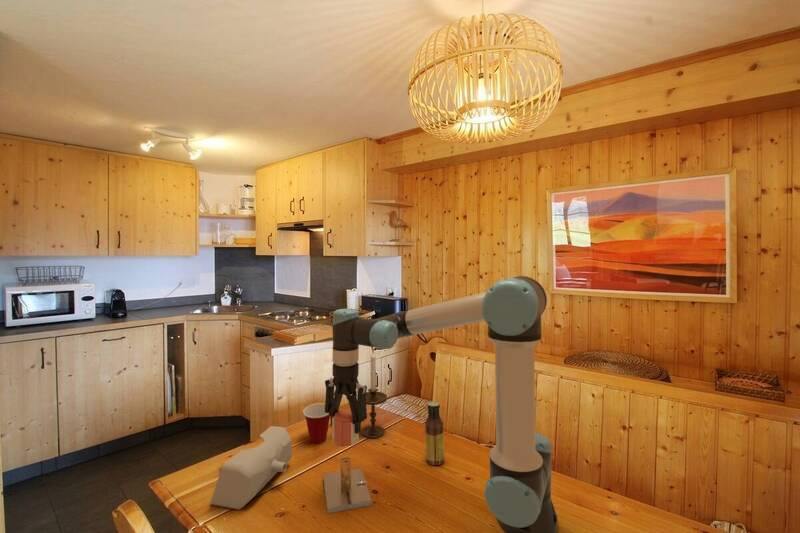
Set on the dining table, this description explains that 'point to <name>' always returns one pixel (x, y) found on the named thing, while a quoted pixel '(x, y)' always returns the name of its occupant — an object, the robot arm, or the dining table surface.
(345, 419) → the wire nut
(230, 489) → the tank
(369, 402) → the candlestick
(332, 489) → the plate
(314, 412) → the plastic cup
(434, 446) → the sauce bottle
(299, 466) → the dining table surface
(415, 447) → the dining table surface
